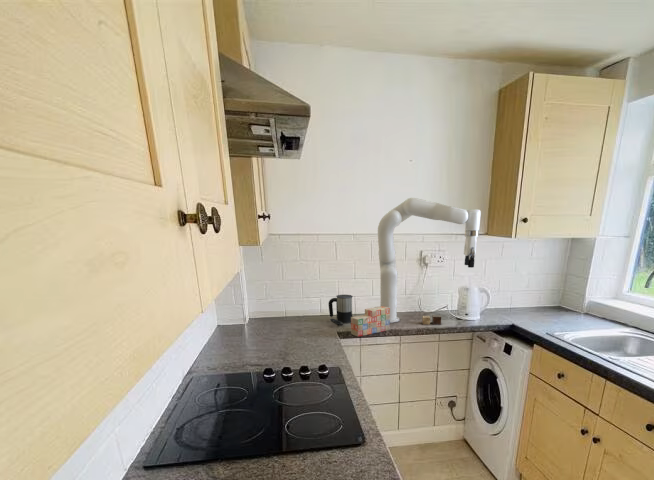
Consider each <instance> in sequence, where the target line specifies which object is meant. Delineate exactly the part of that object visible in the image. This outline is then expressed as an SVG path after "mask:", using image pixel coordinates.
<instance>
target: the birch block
mask: <svg viewBox="0 0 654 480" xmlns="http://www.w3.org/2000/svg"><path fill="white" fill-rule="evenodd" d="M421 323H422V325H431V317H430V315H422V318H421Z"/></svg>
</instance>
